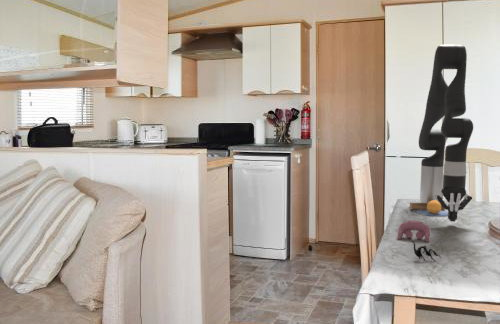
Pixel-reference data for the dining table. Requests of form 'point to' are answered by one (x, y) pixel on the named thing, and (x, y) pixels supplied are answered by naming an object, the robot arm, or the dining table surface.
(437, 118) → the robot arm
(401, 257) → the dining table surface
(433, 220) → the dining table surface
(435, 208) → the ball
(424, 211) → the mark
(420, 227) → the video game controller
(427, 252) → the creature
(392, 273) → the dining table surface
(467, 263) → the dining table surface
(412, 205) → the strip
